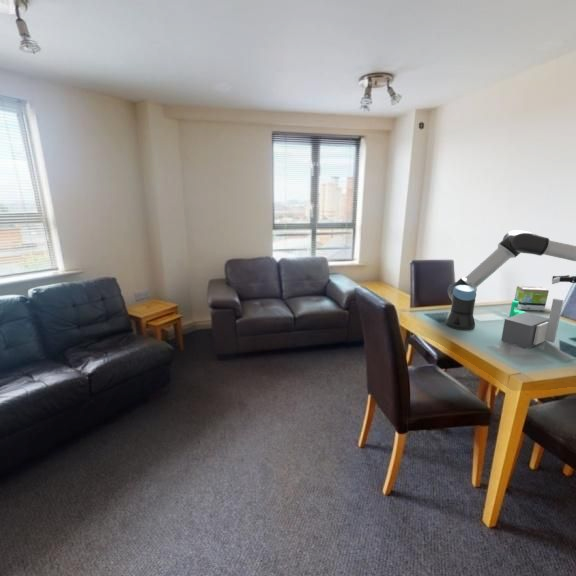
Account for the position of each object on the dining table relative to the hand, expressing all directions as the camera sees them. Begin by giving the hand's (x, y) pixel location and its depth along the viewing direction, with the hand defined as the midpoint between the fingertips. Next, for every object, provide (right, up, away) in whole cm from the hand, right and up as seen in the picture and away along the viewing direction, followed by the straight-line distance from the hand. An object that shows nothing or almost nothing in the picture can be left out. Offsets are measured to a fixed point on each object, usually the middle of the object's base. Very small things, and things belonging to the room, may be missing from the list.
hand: (569, 283), depth 160 cm
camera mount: (+5, -21, +44) cm, 49 cm away
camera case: (-17, -30, +8) cm, 35 cm away
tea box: (+25, -16, +60) cm, 67 cm away
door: (-13, -30, 0) cm, 33 cm away
